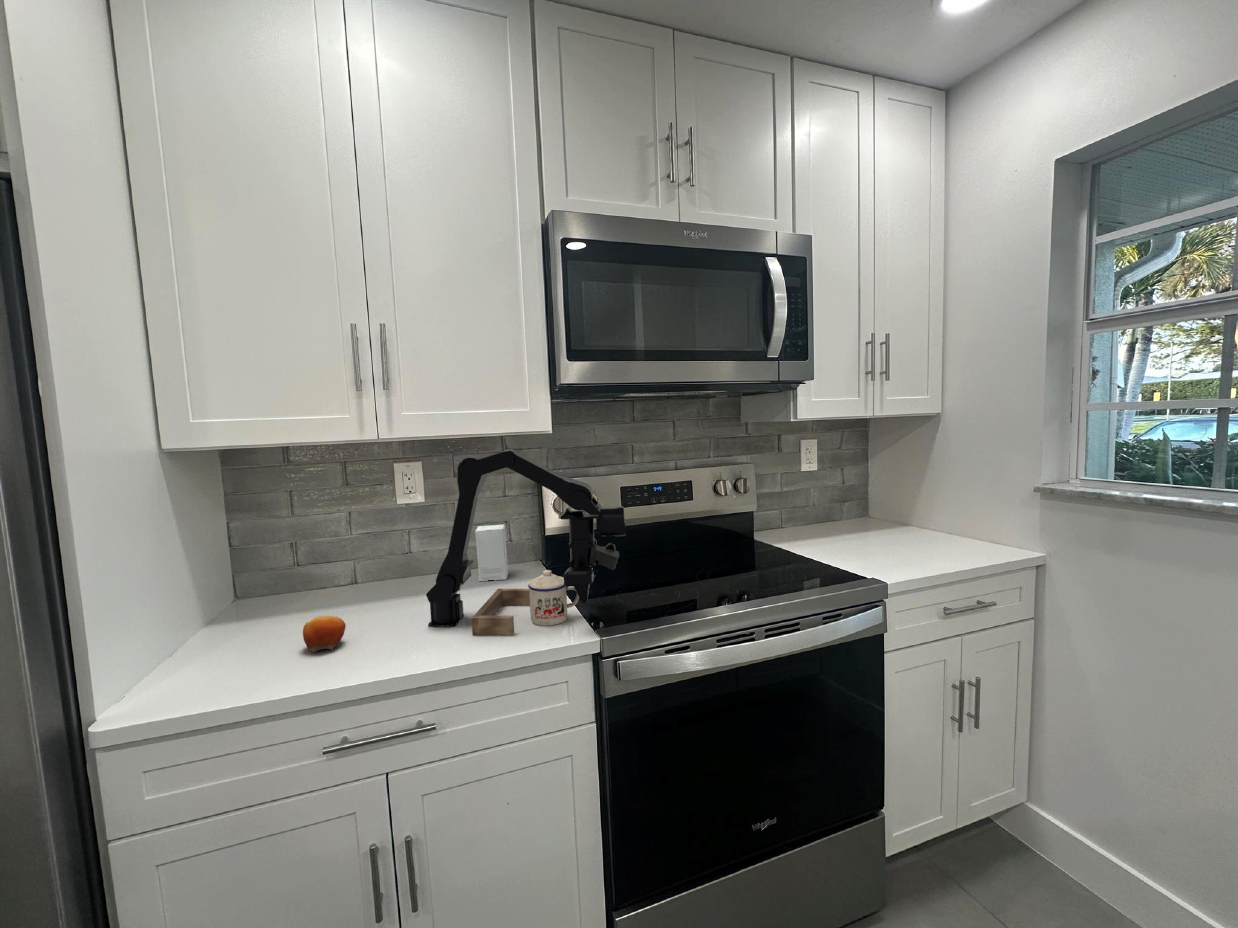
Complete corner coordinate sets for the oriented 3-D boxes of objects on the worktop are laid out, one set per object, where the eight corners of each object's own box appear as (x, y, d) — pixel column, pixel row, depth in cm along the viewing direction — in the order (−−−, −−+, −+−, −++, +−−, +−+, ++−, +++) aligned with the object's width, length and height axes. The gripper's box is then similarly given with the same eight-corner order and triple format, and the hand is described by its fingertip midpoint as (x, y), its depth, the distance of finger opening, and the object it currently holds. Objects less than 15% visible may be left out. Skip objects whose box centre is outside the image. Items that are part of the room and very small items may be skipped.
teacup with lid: (531, 628, 123) (529, 578, 122) (528, 614, 132) (526, 567, 131) (583, 622, 126) (581, 573, 125) (577, 608, 135) (575, 562, 133)
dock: (472, 635, 120) (471, 618, 120) (498, 603, 140) (497, 588, 139) (512, 635, 119) (511, 617, 119) (533, 603, 139) (532, 588, 139)
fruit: (299, 655, 109) (299, 615, 112) (305, 661, 116) (305, 623, 119) (344, 647, 112) (343, 608, 115) (347, 653, 119) (346, 616, 122)
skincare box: (508, 573, 166) (506, 523, 165) (506, 580, 159) (504, 528, 158) (480, 575, 165) (477, 525, 164) (477, 582, 158) (474, 529, 157)
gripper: (613, 546, 117) (615, 616, 118) (619, 527, 135) (621, 589, 137) (561, 547, 117) (564, 617, 119) (574, 528, 136) (577, 589, 137)
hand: (584, 602), depth 128 cm, fingers closed
